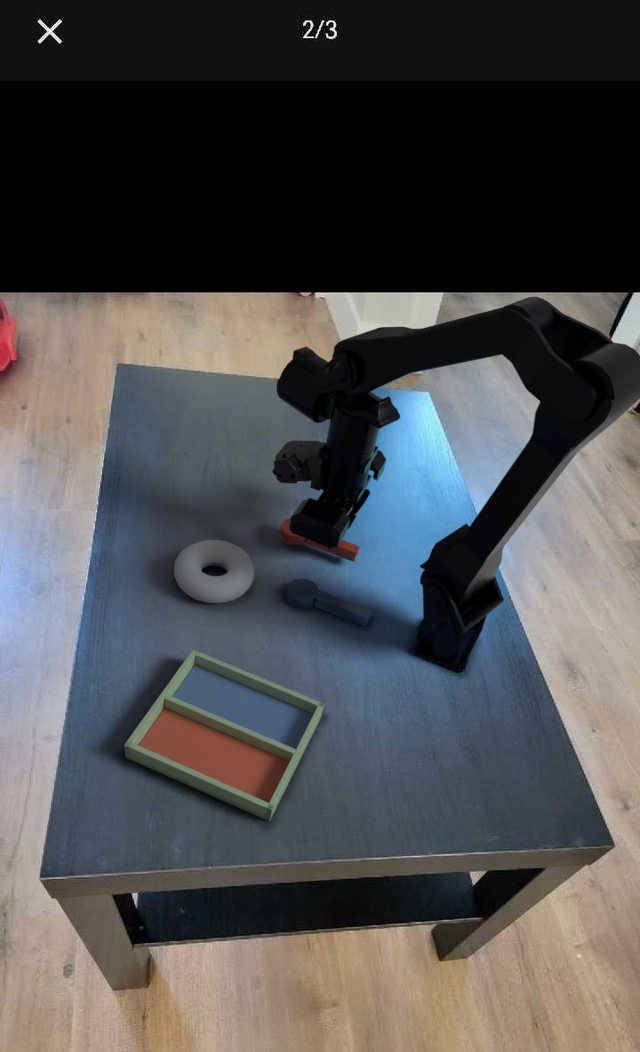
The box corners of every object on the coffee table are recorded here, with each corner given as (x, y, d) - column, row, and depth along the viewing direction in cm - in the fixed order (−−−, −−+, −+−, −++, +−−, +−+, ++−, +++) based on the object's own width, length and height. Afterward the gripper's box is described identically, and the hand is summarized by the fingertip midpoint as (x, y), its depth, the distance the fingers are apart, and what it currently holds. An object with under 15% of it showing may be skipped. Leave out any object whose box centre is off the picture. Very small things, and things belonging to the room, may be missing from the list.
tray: (321, 716, 76) (324, 703, 74) (269, 821, 67) (272, 810, 65) (192, 662, 78) (192, 648, 76) (125, 757, 69) (123, 744, 67)
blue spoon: (372, 612, 88) (375, 604, 86) (362, 633, 85) (364, 624, 84) (293, 581, 89) (295, 573, 88) (281, 601, 86) (283, 592, 85)
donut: (269, 583, 88) (213, 542, 91) (272, 563, 86) (215, 522, 89) (213, 622, 83) (156, 577, 86) (215, 603, 80) (156, 557, 83)
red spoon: (360, 550, 93) (363, 541, 92) (350, 567, 90) (353, 558, 89) (287, 522, 94) (288, 513, 93) (275, 538, 92) (276, 529, 91)
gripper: (317, 385, 87) (301, 485, 99) (254, 457, 75) (245, 562, 87) (399, 413, 85) (373, 512, 97) (348, 492, 73) (326, 594, 85)
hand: (329, 542), depth 91 cm, fingers closed on red spoon, 2 cm apart
